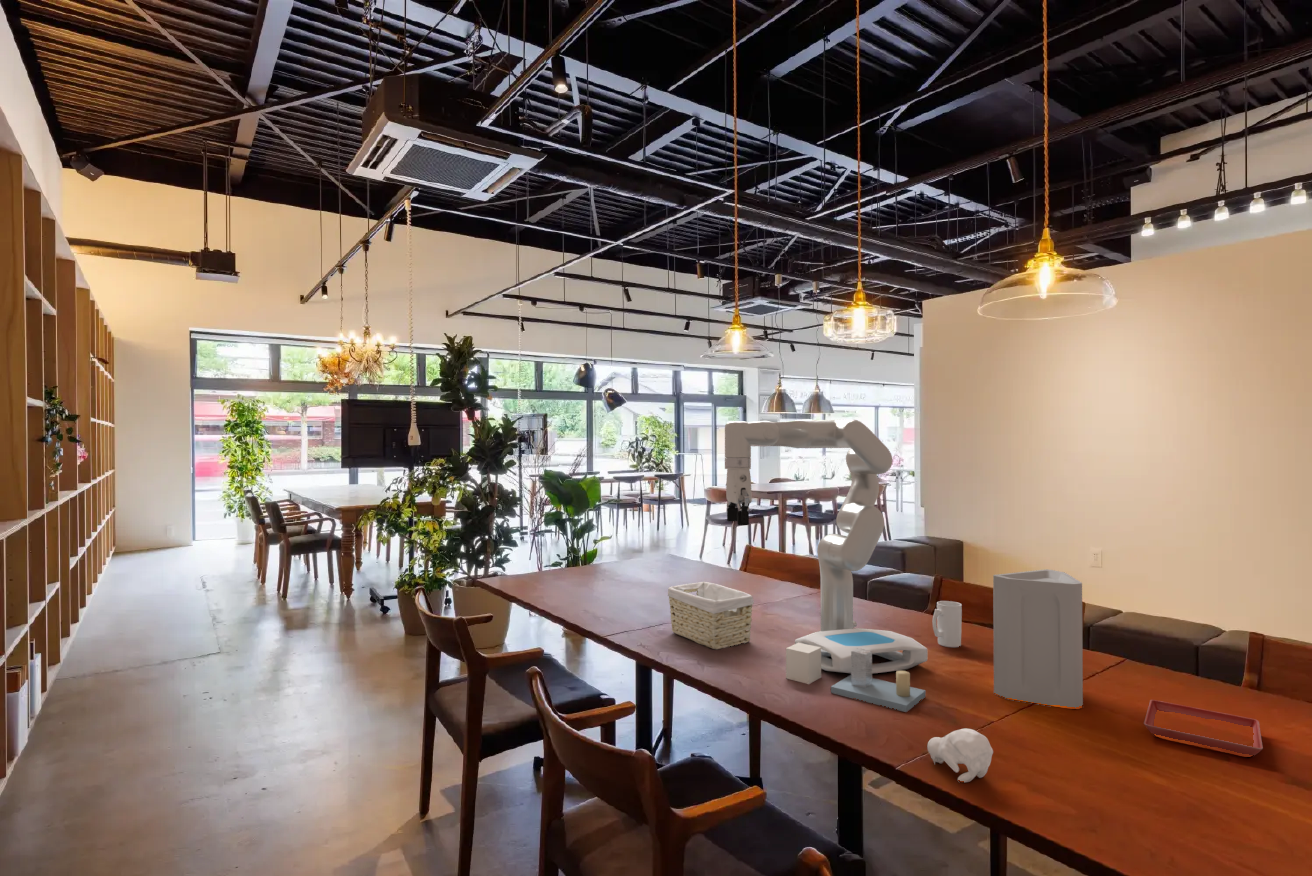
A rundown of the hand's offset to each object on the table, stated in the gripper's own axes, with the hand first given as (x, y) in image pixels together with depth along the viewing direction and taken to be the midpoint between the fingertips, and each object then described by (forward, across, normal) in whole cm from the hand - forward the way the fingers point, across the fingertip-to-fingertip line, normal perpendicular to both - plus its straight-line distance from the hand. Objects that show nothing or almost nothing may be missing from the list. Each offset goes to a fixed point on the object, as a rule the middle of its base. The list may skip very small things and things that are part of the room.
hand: (737, 523), depth 197 cm
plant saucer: (+37, -75, -74) cm, 111 cm away
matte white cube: (+36, -26, -9) cm, 46 cm away
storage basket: (+37, +12, +5) cm, 39 cm away
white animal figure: (+37, -78, -16) cm, 88 cm away
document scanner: (+36, -19, -28) cm, 49 cm away
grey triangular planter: (+36, -51, -59) cm, 86 cm away
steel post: (+35, -38, -19) cm, 55 cm away
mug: (+36, -9, -61) cm, 71 cm away
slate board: (+36, -41, -21) cm, 59 cm away
